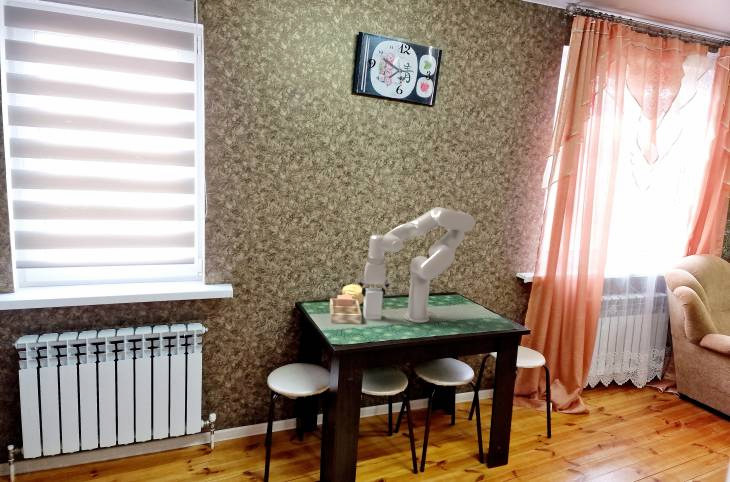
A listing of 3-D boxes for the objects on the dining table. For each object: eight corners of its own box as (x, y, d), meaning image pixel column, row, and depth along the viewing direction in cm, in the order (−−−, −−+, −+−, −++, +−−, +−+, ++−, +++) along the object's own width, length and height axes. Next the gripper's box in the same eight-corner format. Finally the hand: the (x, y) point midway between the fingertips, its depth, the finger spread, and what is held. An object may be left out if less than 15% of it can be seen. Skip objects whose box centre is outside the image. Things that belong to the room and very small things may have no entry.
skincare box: (378, 317, 232) (380, 288, 230) (381, 321, 227) (383, 291, 224) (361, 317, 230) (364, 287, 228) (364, 321, 225) (366, 291, 222)
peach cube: (350, 308, 240) (351, 295, 238) (351, 313, 233) (352, 299, 232) (336, 308, 239) (337, 294, 238) (337, 312, 232) (338, 299, 231)
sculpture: (338, 304, 247) (340, 285, 245) (348, 299, 258) (349, 280, 256) (358, 309, 243) (360, 288, 241) (367, 303, 254) (369, 283, 252)
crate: (356, 308, 243) (357, 299, 242) (361, 325, 219) (361, 315, 218) (329, 307, 241) (330, 298, 240) (331, 324, 217) (331, 314, 217)
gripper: (392, 260, 228) (389, 294, 231) (357, 258, 226) (354, 293, 229) (395, 263, 221) (392, 299, 224) (358, 261, 219) (355, 297, 222)
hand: (373, 295), depth 226 cm, fingers closed on skincare box, 8 cm apart
